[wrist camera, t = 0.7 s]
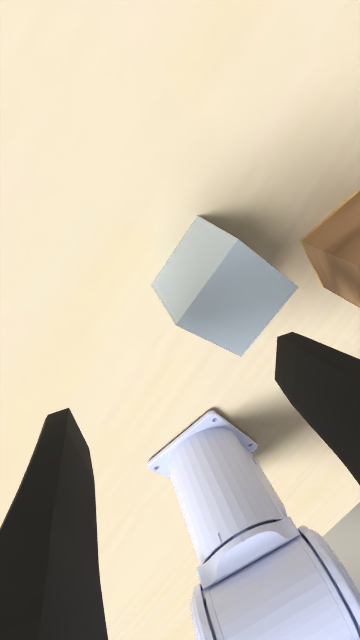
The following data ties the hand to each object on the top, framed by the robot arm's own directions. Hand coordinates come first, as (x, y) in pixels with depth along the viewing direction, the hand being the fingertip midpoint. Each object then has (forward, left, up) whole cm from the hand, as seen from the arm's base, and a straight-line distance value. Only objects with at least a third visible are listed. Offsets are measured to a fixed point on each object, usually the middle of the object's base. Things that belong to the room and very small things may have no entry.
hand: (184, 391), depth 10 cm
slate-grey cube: (-3, -4, -10) cm, 11 cm away
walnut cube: (-9, -13, -10) cm, 19 cm away
